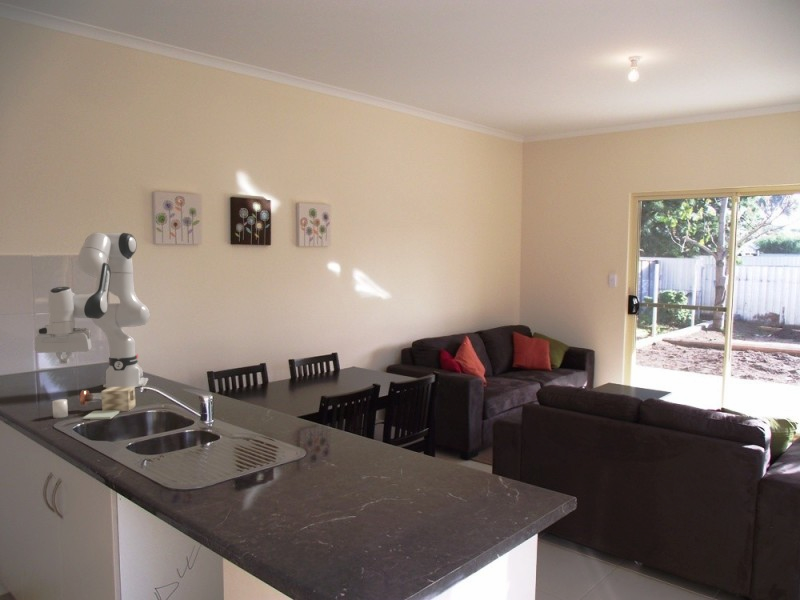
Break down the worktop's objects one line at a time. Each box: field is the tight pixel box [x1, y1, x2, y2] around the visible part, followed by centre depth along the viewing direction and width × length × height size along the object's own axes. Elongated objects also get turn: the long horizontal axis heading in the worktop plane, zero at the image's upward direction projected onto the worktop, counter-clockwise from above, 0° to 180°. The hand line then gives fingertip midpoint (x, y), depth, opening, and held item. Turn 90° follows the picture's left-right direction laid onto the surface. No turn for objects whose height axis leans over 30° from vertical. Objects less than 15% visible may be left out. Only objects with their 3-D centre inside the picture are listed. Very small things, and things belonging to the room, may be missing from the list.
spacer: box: [51, 398, 69, 419], centre depth 239 cm, size 5×5×6 cm
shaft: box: [79, 389, 102, 406], centre depth 248 cm, size 12×6×6 cm, turn 95°
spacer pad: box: [82, 410, 121, 421], centre depth 239 cm, size 10×10×1 cm
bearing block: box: [100, 386, 136, 412], centre depth 249 cm, size 10×8×8 cm
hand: (64, 363), depth 246 cm, fingers closed
